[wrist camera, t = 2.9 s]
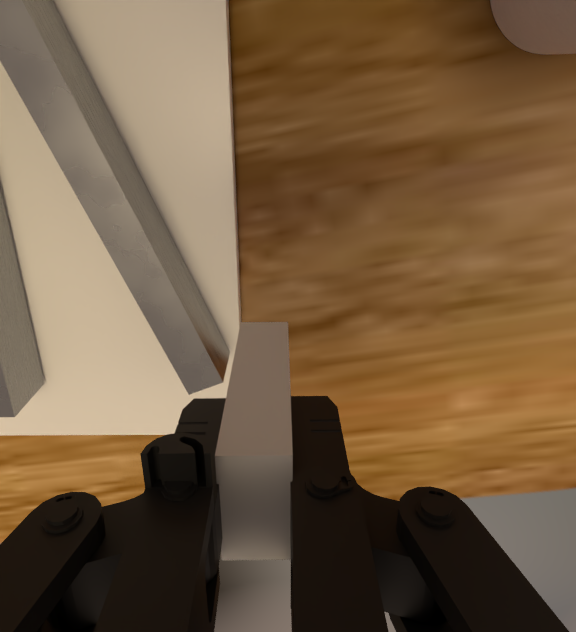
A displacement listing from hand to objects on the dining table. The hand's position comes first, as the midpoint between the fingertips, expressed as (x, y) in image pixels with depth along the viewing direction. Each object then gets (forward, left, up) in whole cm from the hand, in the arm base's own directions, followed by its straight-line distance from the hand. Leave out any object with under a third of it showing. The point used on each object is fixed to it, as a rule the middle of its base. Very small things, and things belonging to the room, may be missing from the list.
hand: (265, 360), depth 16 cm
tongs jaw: (-5, -8, -12) cm, 15 cm away
